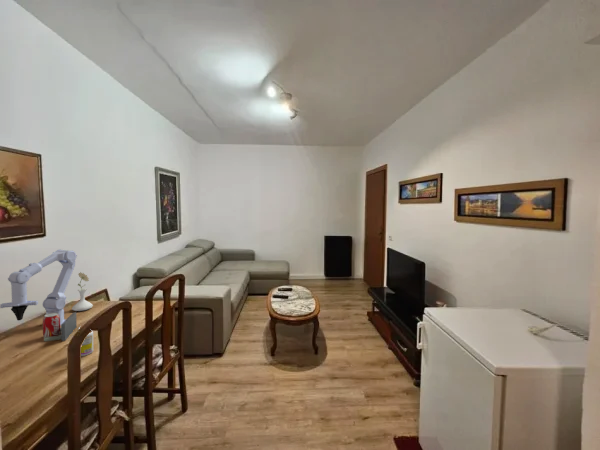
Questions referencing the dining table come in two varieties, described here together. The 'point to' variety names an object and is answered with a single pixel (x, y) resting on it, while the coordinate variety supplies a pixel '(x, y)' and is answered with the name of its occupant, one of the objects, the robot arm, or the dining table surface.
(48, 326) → the soda can
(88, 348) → the supplement bottle
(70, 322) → the grey bookend
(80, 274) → the flower in vase
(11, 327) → the dining table surface
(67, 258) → the robot arm
